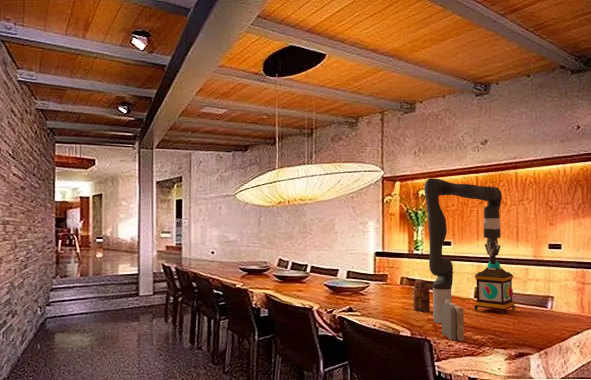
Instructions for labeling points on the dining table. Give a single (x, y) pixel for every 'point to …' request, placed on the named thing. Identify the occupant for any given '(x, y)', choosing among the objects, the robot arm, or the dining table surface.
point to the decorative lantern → (494, 288)
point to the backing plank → (448, 320)
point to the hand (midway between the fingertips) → (492, 264)
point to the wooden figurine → (421, 296)
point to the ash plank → (458, 321)
